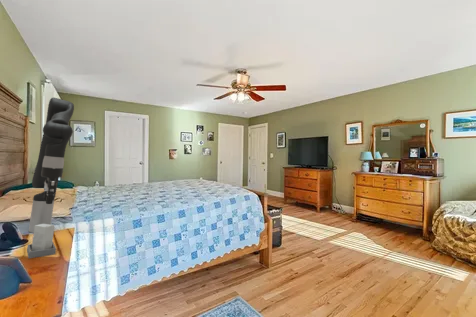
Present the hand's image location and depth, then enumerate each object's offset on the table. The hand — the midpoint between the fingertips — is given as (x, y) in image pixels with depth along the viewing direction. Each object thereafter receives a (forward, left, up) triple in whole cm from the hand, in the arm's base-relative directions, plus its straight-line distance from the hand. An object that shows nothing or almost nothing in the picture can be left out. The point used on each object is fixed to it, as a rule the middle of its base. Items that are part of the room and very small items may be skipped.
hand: (47, 202), depth 102 cm
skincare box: (0, 0, -23) cm, 23 cm away
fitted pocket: (+1, 0, -22) cm, 22 cm away
